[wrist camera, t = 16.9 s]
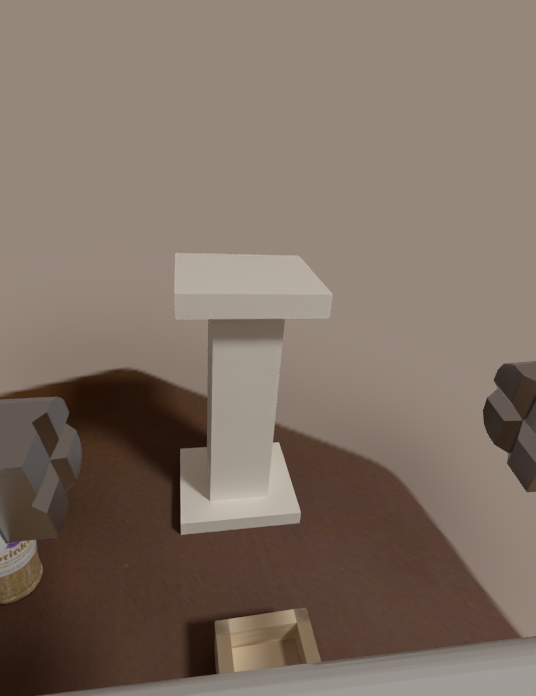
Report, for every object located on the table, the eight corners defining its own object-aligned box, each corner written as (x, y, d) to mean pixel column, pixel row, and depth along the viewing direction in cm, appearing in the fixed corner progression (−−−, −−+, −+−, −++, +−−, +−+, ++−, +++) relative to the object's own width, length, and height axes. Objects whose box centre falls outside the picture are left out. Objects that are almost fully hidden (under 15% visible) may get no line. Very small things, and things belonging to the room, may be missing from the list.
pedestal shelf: (181, 534, 43) (174, 294, 31) (180, 458, 52) (175, 252, 41) (299, 522, 45) (332, 294, 34) (278, 452, 55) (298, 255, 43)
